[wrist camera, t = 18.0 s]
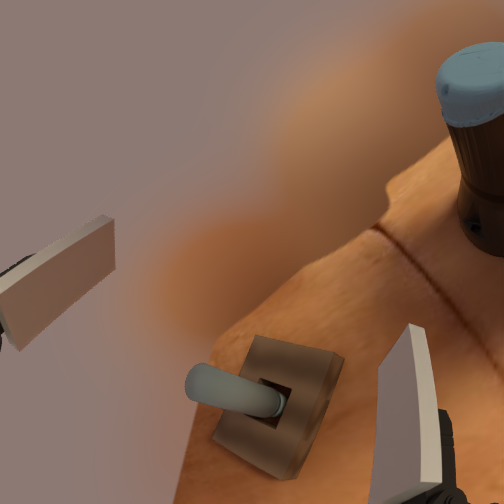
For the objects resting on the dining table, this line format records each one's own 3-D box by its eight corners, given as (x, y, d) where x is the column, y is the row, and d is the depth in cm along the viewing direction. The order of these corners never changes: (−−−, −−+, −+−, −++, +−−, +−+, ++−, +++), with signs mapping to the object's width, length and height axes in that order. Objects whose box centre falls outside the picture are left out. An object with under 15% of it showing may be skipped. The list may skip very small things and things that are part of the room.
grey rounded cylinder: (276, 388, 42) (194, 358, 33) (299, 397, 39) (218, 369, 29) (265, 415, 40) (179, 392, 31) (288, 424, 37) (202, 407, 28)
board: (268, 341, 48) (255, 334, 46) (344, 358, 38) (333, 352, 36) (227, 441, 41) (211, 438, 39) (296, 478, 31) (281, 480, 29)
